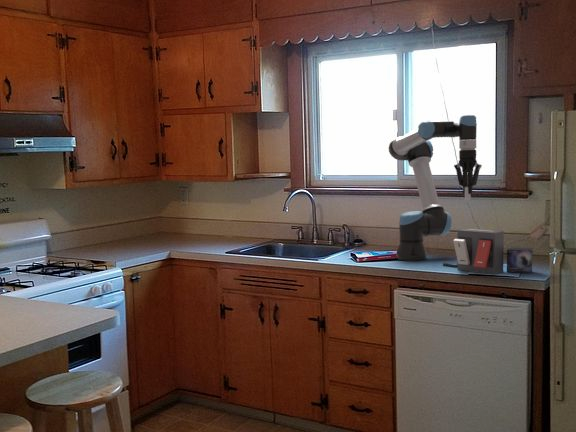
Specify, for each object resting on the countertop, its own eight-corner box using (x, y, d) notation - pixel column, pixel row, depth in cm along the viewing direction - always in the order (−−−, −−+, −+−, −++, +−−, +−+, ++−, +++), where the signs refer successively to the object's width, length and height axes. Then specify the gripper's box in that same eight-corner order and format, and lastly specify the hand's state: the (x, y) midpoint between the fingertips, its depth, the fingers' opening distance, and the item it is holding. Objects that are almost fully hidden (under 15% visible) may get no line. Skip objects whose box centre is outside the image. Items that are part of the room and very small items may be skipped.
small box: (506, 272, 284) (506, 249, 283) (506, 270, 290) (507, 247, 289) (532, 274, 281) (532, 250, 279) (532, 271, 287) (532, 247, 286)
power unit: (436, 267, 300) (436, 228, 298) (447, 264, 307) (446, 226, 305) (493, 274, 281) (493, 233, 279) (503, 271, 287) (503, 230, 286)
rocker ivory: (458, 263, 291) (453, 240, 287) (460, 262, 293) (454, 238, 288) (468, 265, 288) (463, 241, 284) (470, 263, 289) (465, 239, 285)
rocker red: (473, 266, 281) (479, 239, 284) (475, 267, 282) (480, 240, 285) (484, 267, 278) (489, 240, 280) (485, 268, 279) (491, 241, 281)
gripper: (450, 149, 299) (450, 200, 301) (476, 149, 290) (476, 202, 292) (459, 149, 304) (459, 199, 307) (484, 149, 295) (484, 200, 298)
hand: (467, 200), depth 300 cm, fingers closed
